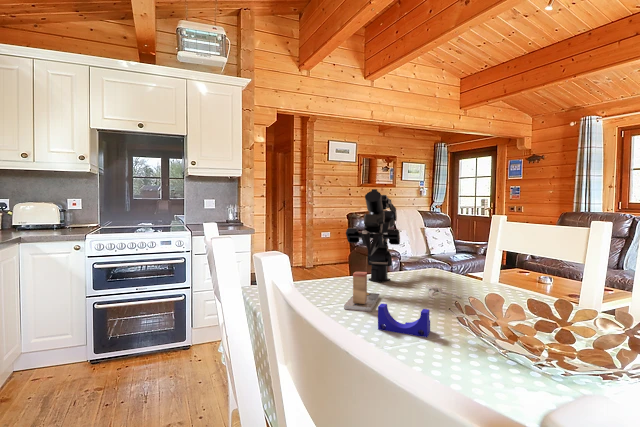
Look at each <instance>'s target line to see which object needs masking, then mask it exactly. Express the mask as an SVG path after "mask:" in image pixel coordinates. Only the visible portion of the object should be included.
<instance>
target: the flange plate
mask: <svg viewBox="0 0 640 427" xmlns="http://www.w3.org/2000/svg"><path fill="white" fill-rule="evenodd" d="M379 297H380V293H374V292H373V293H372V292H367V301H366V303H365V304H359V303H353V295H351V297H350V298H349V299H348V300H347V301H346V302H345V303H344V305H343V310H351V311H361V312H369V313H370V312H372V311H373V310H374V307H375V306H376V304H377V303H378V300H380V298H381V297H380V298H379ZM376 302H377V303H376ZM374 305H375V306H374Z"/></svg>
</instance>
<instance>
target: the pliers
mask: <svg viewBox="0 0 640 427" xmlns="http://www.w3.org/2000/svg"><path fill="white" fill-rule="evenodd" d="M425 289H427V290H428V293H427V296H428V297H429V298H431V299H433V300H436V297H434V296H435V295H438V293H440V295H441V294H442V295H447V296H448V295H449V296H453V297H456V298H458V299H462V297H461V296H460V295H459V294H457V293H453V292H451V291H445V290H443V289H442V287H439V286H437V285H436V284H432V285H429V284H427V283H426V284H425Z"/></svg>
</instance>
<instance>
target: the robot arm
mask: <svg viewBox="0 0 640 427" xmlns="http://www.w3.org/2000/svg"><path fill="white" fill-rule="evenodd" d="M364 199H365V205H366V208H367V211H368V213H367V214H364V217H363V225H364V226H363V230H362V232H359V229H358V227H348V228H346V230H345V235H346V240H347V242H348V243H349V244H358V243H359V242H360V239H361V240H362V241H361V243H362V245H364V246H366V249H367V265H368V266H371V269H370V278H367V281H371V282H376V283H384V282H389V281H391V280H392V279H391V278H388V269H389V267H392V266H393V259H392V258H393V257H392V254H391V251H390V250H389V245H388V244H390V245H393V246H394V245H397V246H398V245H400V243H401V234H400V230H399V229H398V228H397V229H396V228H392V227H394V226H395V223H396V221H397V219H398V216H397V208H396V207H395V206H394V204H393V202H392V198H389V197H388V195H387V194H381V192H380V191H378V189H376V188H373V189H372V188H371V191H369V192H367V193H366V194H365V195H364ZM387 209H389V210H387ZM371 240H372V241H371Z"/></svg>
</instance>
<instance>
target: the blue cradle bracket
mask: <svg viewBox="0 0 640 427" xmlns="http://www.w3.org/2000/svg"><path fill="white" fill-rule="evenodd" d="M377 330H379V331H385V332H391V333H392V332H393V333H398V334H404V335H410V336H416V337H423V338H428V337H429V334H430V333H431V319H430V309H428V308H422V310H421V311H420V316H419V318H418V319H417V320H415V321H411V322H408V321H407V322H405V323H401V322H400V321H397V320H396V319H395V318H393V316H392V315H391V313H390V312H389V309H388V304H387V303H382V302H381V303H380V304H379V305H377Z"/></svg>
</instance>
